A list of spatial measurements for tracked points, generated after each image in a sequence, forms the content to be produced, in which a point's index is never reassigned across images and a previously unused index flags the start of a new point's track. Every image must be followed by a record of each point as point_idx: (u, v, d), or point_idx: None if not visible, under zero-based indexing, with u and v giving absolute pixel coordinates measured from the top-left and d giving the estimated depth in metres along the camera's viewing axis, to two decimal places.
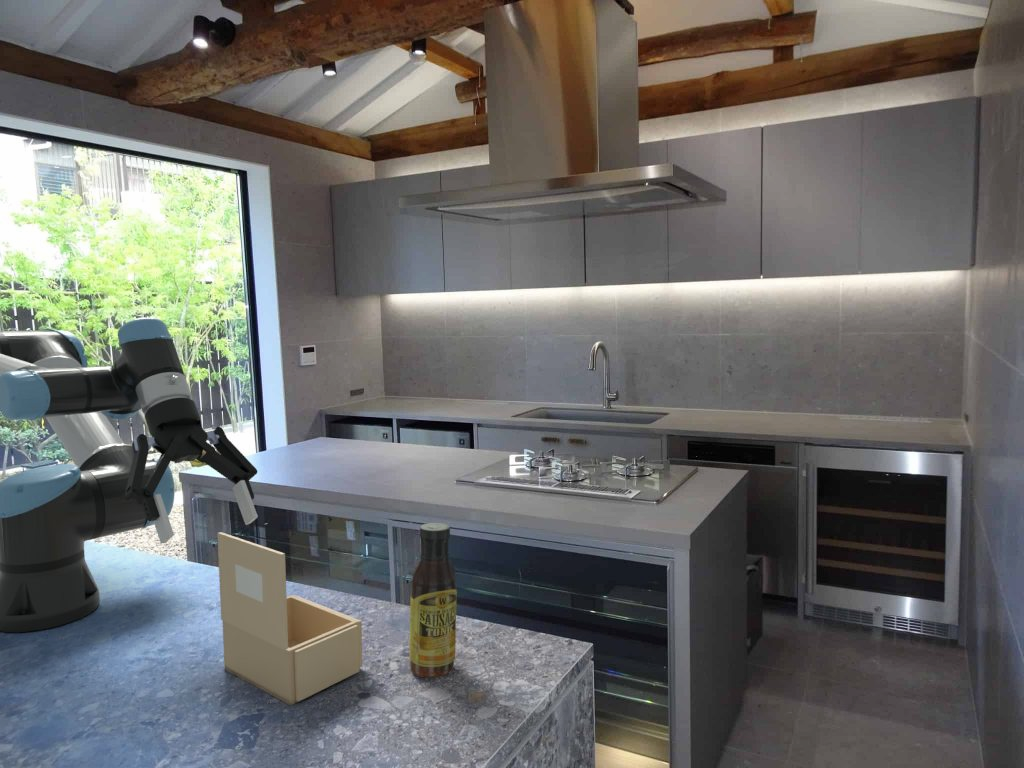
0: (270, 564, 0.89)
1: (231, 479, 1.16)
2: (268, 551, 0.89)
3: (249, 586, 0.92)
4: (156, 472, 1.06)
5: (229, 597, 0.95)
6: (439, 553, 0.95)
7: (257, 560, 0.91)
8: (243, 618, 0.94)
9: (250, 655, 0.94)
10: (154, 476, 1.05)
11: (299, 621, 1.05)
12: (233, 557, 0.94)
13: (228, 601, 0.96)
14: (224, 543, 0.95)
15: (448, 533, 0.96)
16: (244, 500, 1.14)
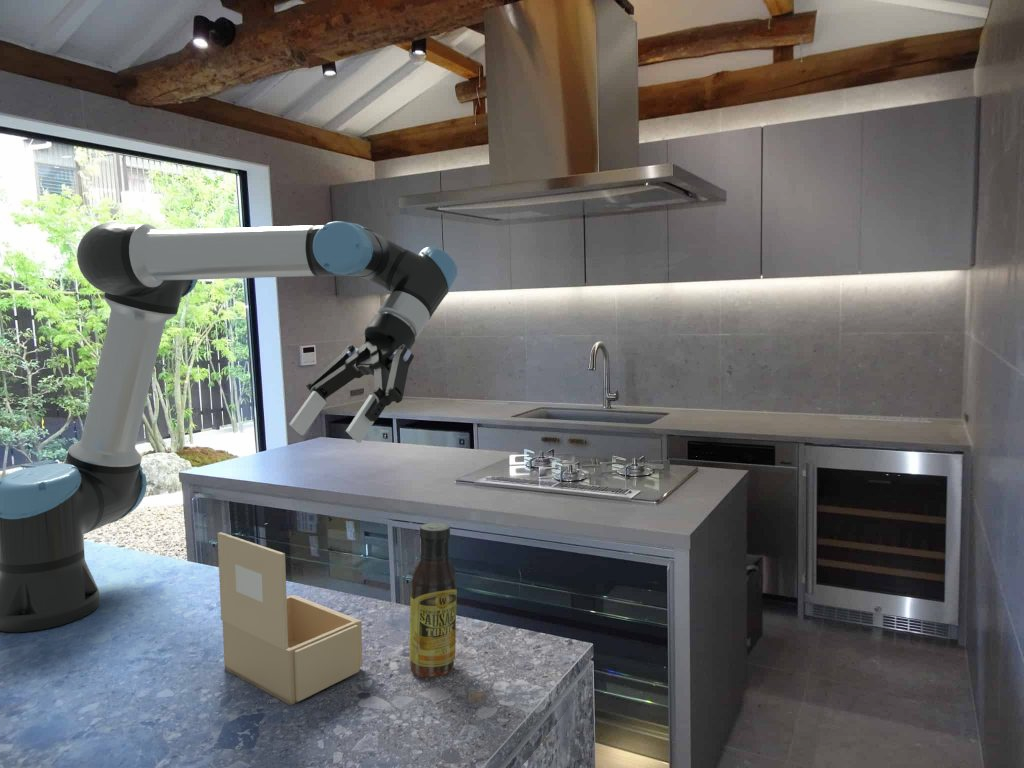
0: (270, 564, 0.89)
1: (322, 387, 1.13)
2: (268, 551, 0.89)
3: (249, 586, 0.92)
4: None
5: (229, 597, 0.95)
6: (439, 553, 0.95)
7: (257, 560, 0.91)
8: (243, 618, 0.94)
9: (250, 655, 0.94)
10: None
11: (299, 621, 1.05)
12: (233, 557, 0.94)
13: (228, 601, 0.96)
14: (224, 543, 0.95)
15: (448, 533, 0.96)
16: (312, 415, 1.11)
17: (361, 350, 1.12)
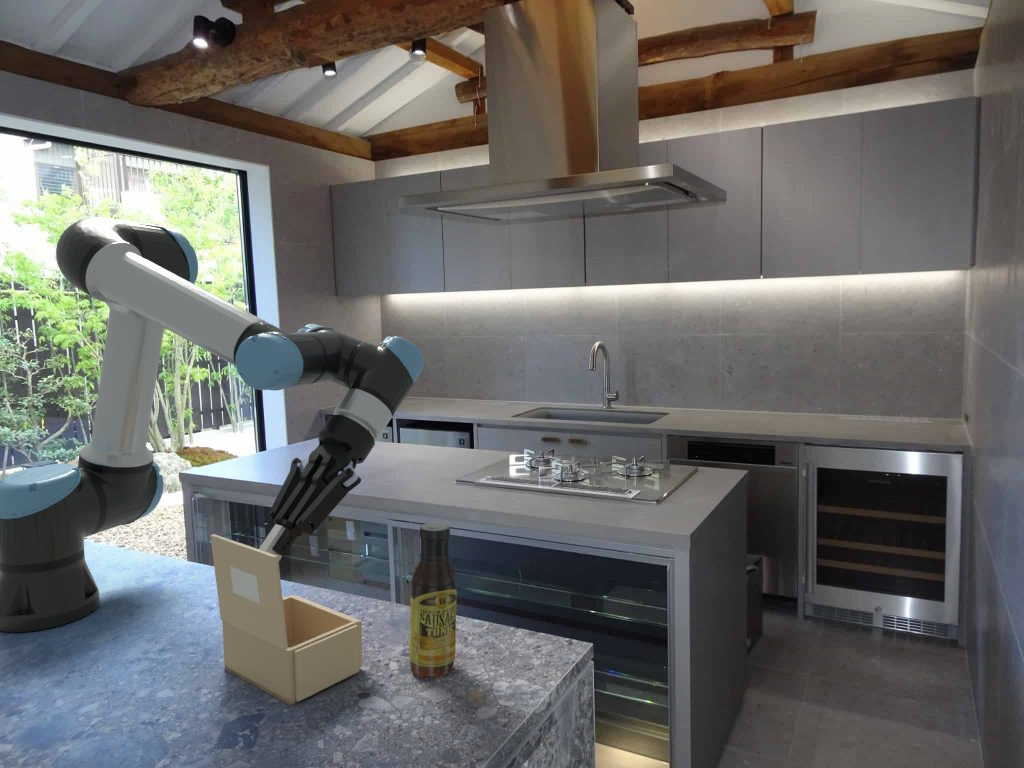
0: (264, 566, 0.88)
1: (286, 513, 0.97)
2: (261, 554, 0.88)
3: (245, 588, 0.92)
4: None
5: (227, 598, 0.95)
6: (439, 553, 0.95)
7: (251, 562, 0.90)
8: (242, 619, 0.94)
9: (250, 655, 0.94)
10: None
11: (299, 621, 1.05)
12: (227, 559, 0.93)
13: (226, 602, 0.95)
14: (218, 545, 0.94)
15: (448, 533, 0.96)
16: None
17: (315, 457, 1.00)
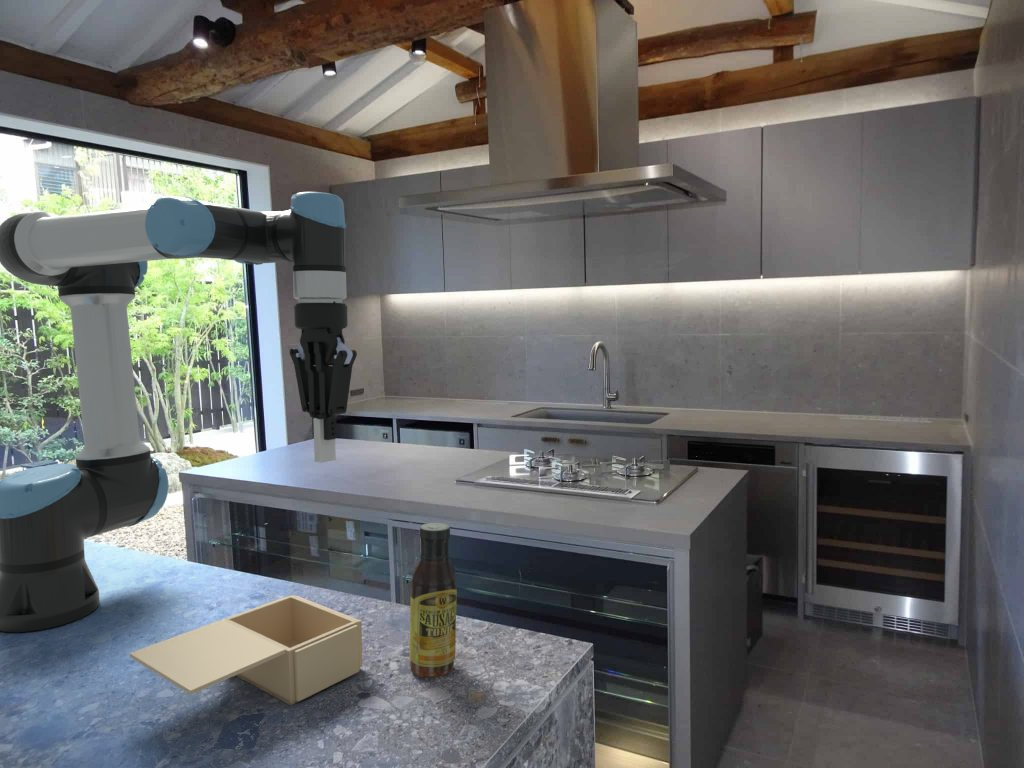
0: None
1: (316, 404, 1.07)
2: (179, 686, 0.81)
3: None
4: None
5: None
6: (439, 553, 0.95)
7: None
8: None
9: None
10: None
11: (299, 621, 1.05)
12: None
13: None
14: None
15: (448, 533, 0.96)
16: None
17: (306, 348, 1.05)
